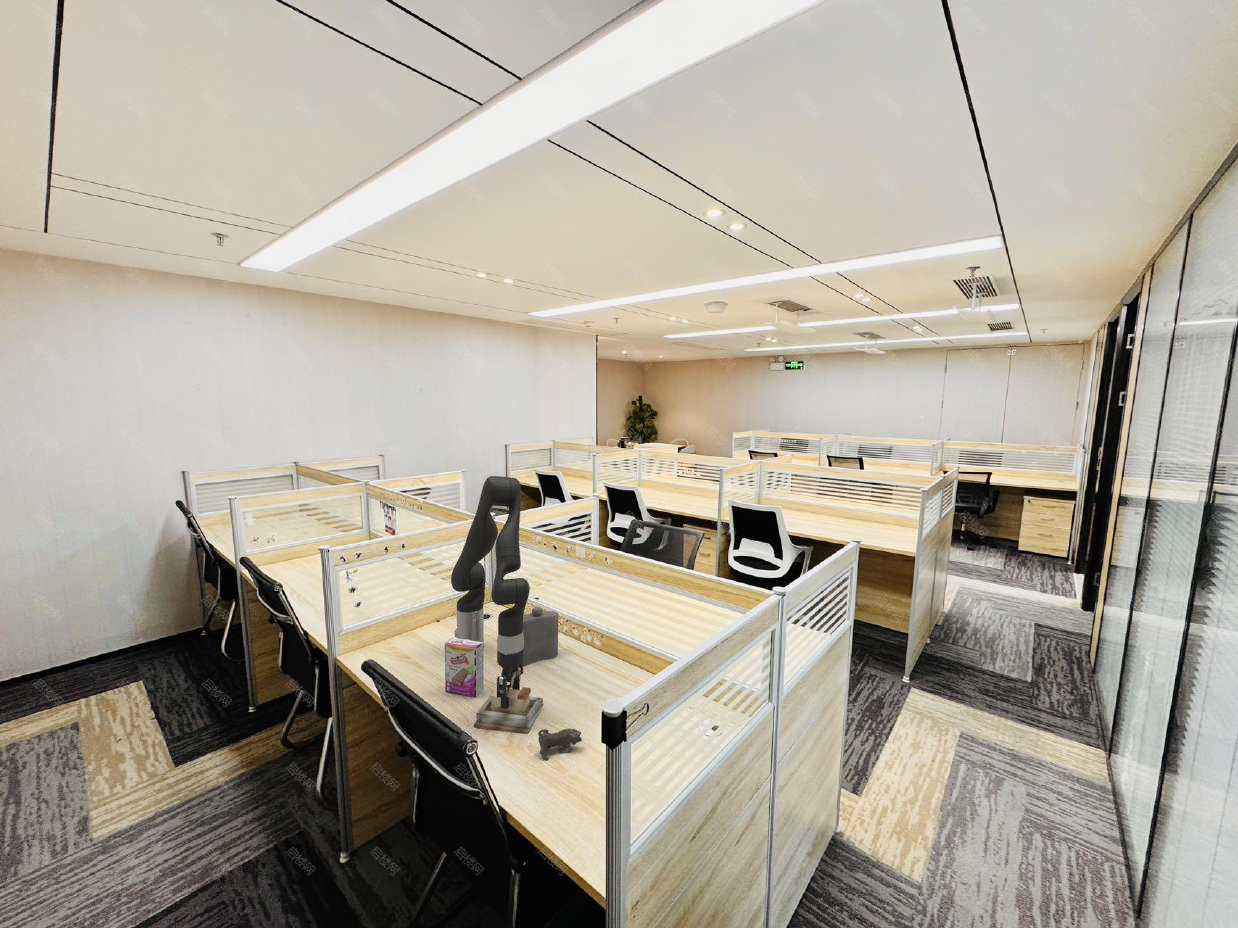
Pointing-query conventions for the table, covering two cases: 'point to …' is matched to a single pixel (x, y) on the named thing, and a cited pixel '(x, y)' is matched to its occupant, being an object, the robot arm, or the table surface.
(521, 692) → the fuselage block
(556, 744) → the dog figurine
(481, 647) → the candy bar box
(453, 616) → the table surface
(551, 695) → the table surface
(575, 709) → the table surface
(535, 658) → the flask
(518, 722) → the tray
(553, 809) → the table surface
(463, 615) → the robot arm
